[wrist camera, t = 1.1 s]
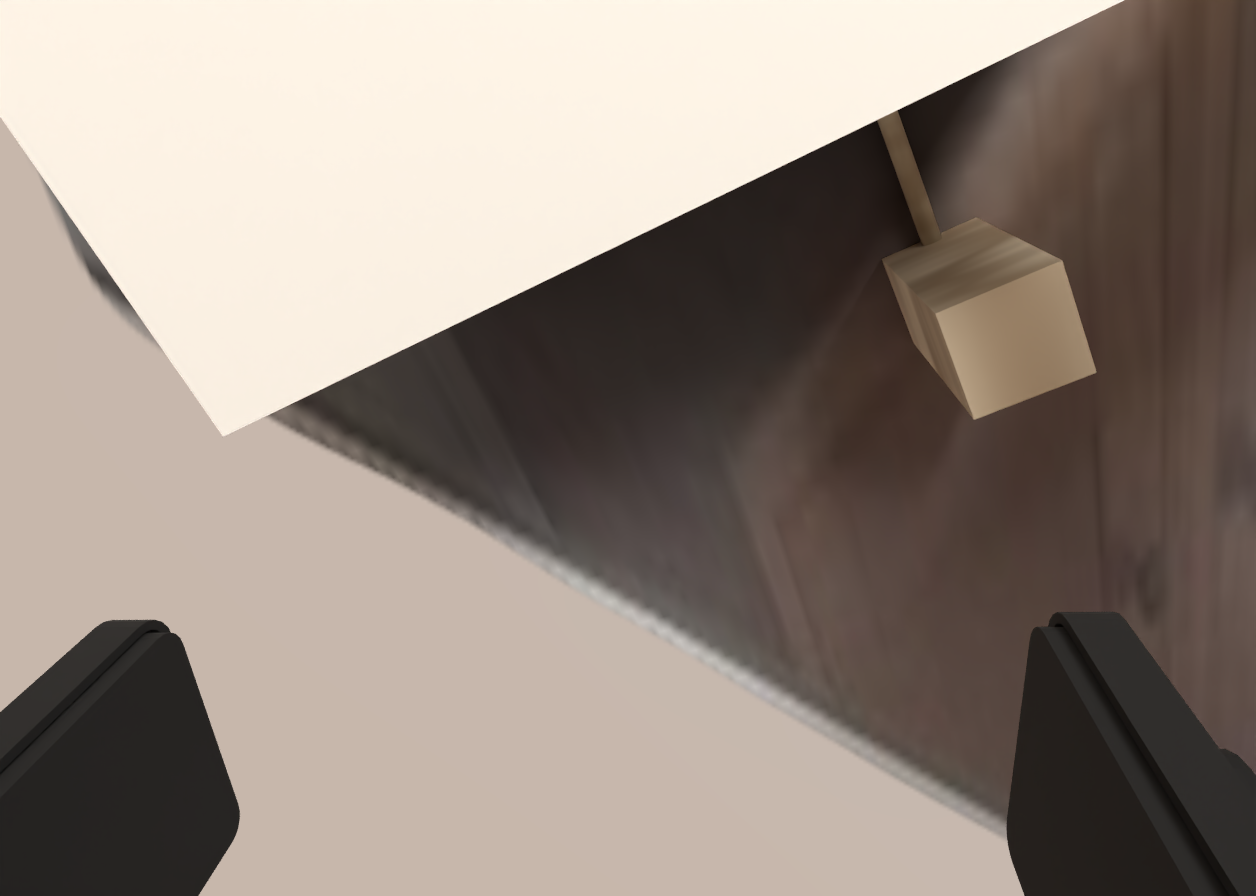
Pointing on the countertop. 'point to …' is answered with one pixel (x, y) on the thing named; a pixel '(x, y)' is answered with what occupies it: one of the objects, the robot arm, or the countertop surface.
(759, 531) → the countertop surface
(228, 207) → the cubby shelf
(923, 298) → the wooden block tool
